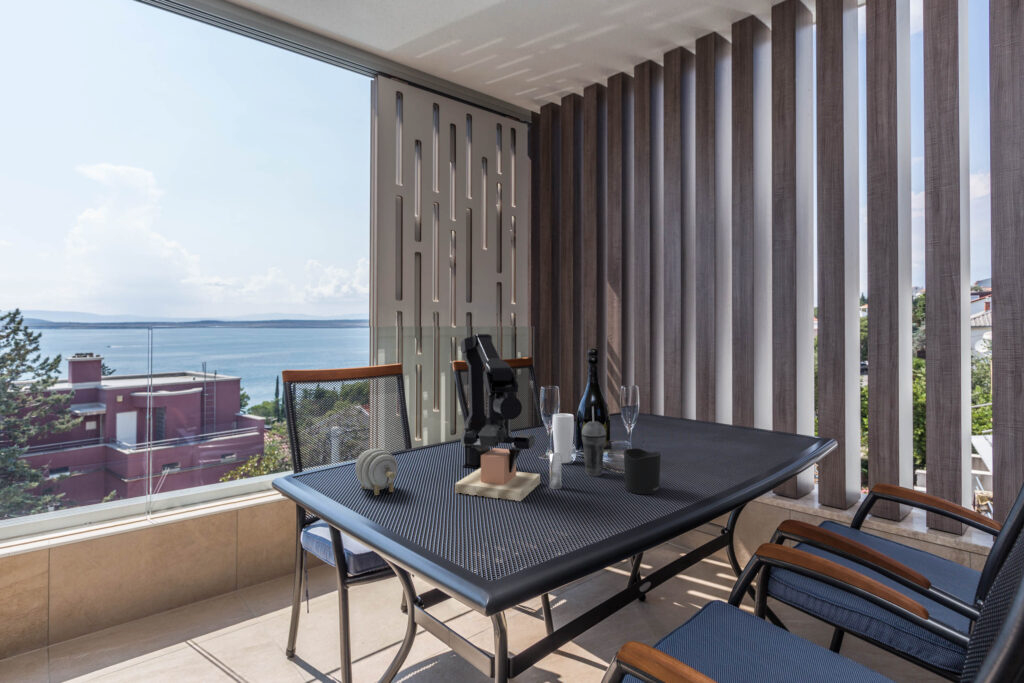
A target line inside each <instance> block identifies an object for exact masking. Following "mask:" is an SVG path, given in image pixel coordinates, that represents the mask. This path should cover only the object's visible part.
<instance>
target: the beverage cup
mask: <svg viewBox="0 0 1024 683" xmlns="http://www.w3.org/2000/svg"><path fill="white" fill-rule="evenodd" d="M594 407H595V406H591V416H592V417H591V419H592V420H590V421H588V422H586V423H585V425H584V426H583V427H582V429H581V430H582V431H581V441H582V446H583V456H584V457H583V458H584V469H585V475H587V476H591V477H599V476H602V471H603V464H604V452H605V443H606V439H607V436H608V435H607V432H606V431H607V430H606V428H605V427H604V426H605V425H604V424H602V423H601V422H599V421H597V420H595V408H594Z"/></svg>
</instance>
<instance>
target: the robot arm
mask: <svg viewBox="0 0 1024 683" xmlns="http://www.w3.org/2000/svg"><path fill="white" fill-rule="evenodd" d="M460 352H461V353H462V359H463V360H464V362H465V363H466V365H467V367H468V400H469V414H468V416H467V418H466V419H465V421H464V428H463V430H462V433H461V437H460V445H461V446H462V448H464V463H463V464H462V467H464V468H472V469H479V468H481V455H483V454H484V453H486V452H488V451H490V447H491V448H497V446H499V444H511V446H512V447H509V448H508V449H509V452H510V462H509V472H510V473H511V472H512V471H513V468H514V466H515V463H516V464H517V460H518V458H519V456H520V454H521V451H523V450H530V449H531V448H533V447H534V446H535V445H536V438H535V436H534V435H533V434H532V433H531V434H530V433H520V434H518V435H515V436H513V435H512V430H510V424H511V423H510V421H511V420H512V421H513V420H515V419H517V418H518V417H519V416H520V415H521V413H522V409H523V404H522V402H521V401H520V399H519V398H517V397H515V394H516V393H519V390H518V389H519V384H518V380H517V377H516V375H515V372H514V370H513V369H512V367H511V366H510V364H509V363H508V362H506V361H504V360H502V359H501V357H500V356H499V353H498V351H497V349H496V347H495V345H494V342H493V337H492V335H491V334H489V333H475V334H473V335H472V336H469V337H465V338H463V339H462V341H461V342H460ZM484 387H485V388H484ZM485 389H486V392H487V394H488V396H487V403H488V404H487V405H488V406H487V415H486V414H485ZM511 435H512V436H511Z"/></svg>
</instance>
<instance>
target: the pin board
mask: <svg viewBox="0 0 1024 683" xmlns="http://www.w3.org/2000/svg"><path fill="white" fill-rule="evenodd" d="M540 483H541V473H535V472H534V473H533V472H525V471H524V472H522V471H516V476H515V477H513V478H512V479H511V480H509V481H508V482H507V483H506V484H504V485H501V484H493V483H484V482H481V468H477V469H476V470H474V471H473V472H471V473H469V474H468V475H466V476H465V477H463V478H461V479H460V480H458V481H457V482H455V483H454V493H455V494H459V493H462V494H461V495H466V494H469V496H474V495H477V496H476V497H482V496H484V497H485V498H490V497H491V499H498V498H501V499H500V500H506V499H507V500H506V501H508V500H509V501H513V500H515V502H521V501H523V499H524V498H526V497H527V496H528V495H529V494H530V493H531V492H532V491H533V490H534V489H536V488H537V486H539V485H540ZM484 497H483V498H484Z"/></svg>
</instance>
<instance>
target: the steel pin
mask: <svg viewBox="0 0 1024 683" xmlns="http://www.w3.org/2000/svg"><path fill="white" fill-rule="evenodd" d="M562 464H563V463H562V454H561V453H554V452H550V453H549V488H550V489H552V490H559V489H562V475H563V474H562V470H563V469H562V466H563V465H562Z"/></svg>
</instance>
